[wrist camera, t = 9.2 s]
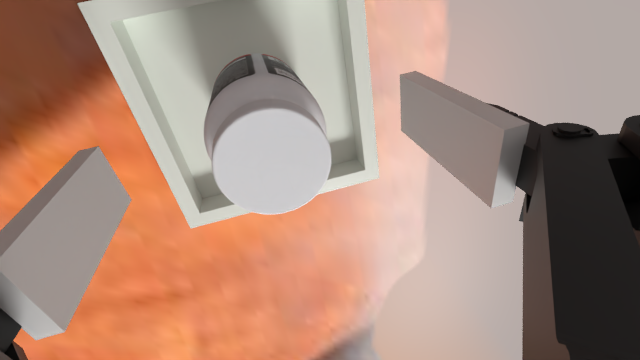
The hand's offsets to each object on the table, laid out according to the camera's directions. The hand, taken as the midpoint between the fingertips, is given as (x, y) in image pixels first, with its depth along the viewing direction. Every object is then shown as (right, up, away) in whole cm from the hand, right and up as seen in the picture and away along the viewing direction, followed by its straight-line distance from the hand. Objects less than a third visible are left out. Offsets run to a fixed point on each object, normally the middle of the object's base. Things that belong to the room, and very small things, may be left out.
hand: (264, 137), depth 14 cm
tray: (-2, +4, +7) cm, 8 cm away
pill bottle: (-2, +4, +7) cm, 8 cm away
